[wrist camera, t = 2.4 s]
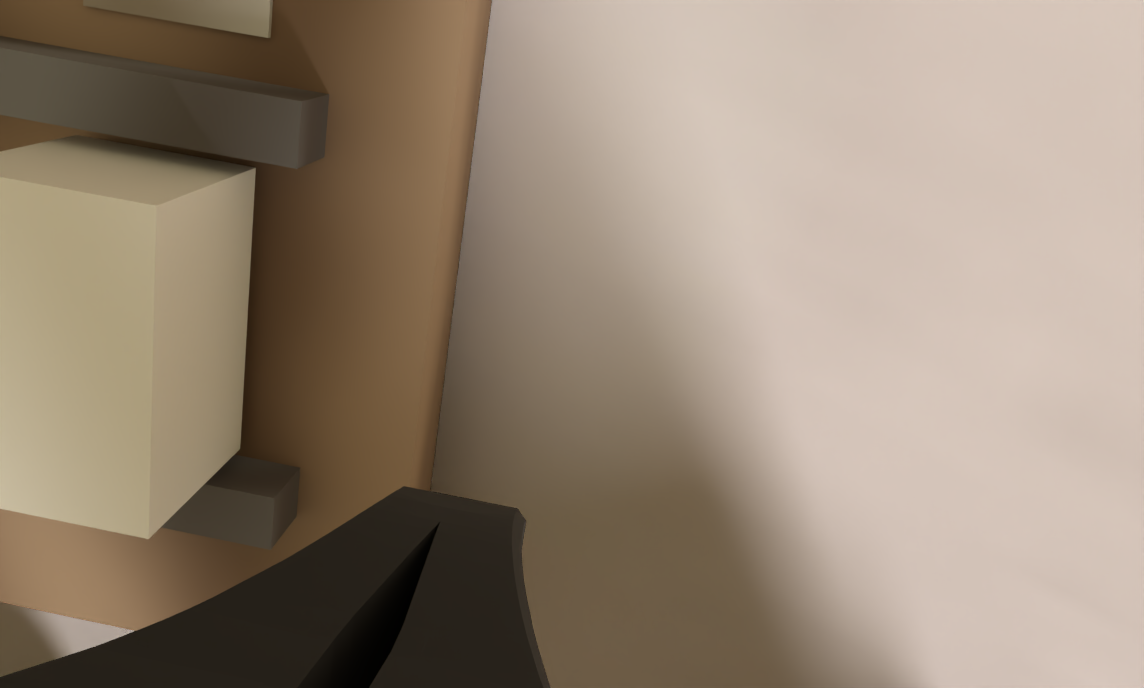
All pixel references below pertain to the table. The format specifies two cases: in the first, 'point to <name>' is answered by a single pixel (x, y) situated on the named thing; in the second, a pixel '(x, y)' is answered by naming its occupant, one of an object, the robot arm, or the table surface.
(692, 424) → the table surface
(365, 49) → the wooden board with rails
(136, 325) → the cream rectangular block
